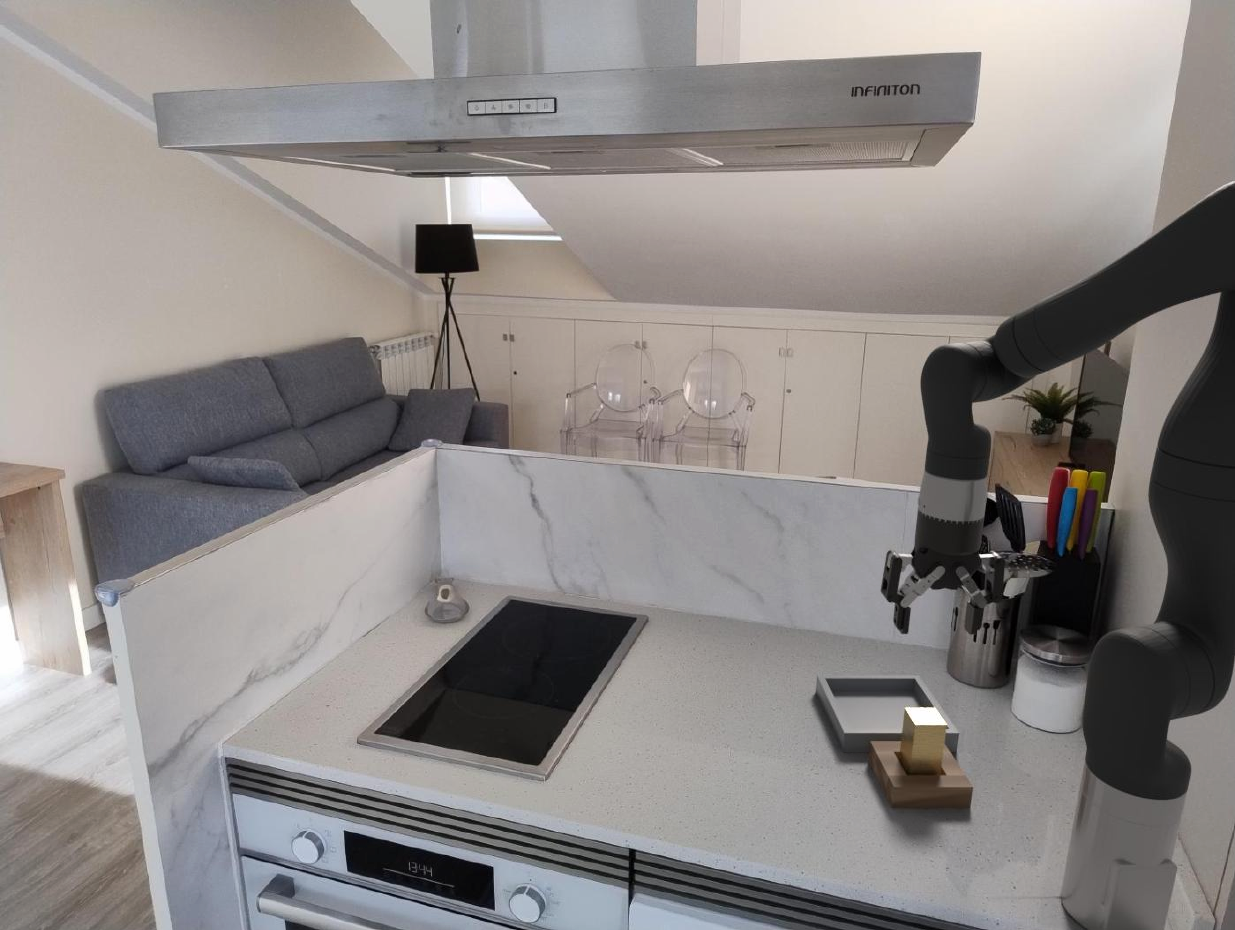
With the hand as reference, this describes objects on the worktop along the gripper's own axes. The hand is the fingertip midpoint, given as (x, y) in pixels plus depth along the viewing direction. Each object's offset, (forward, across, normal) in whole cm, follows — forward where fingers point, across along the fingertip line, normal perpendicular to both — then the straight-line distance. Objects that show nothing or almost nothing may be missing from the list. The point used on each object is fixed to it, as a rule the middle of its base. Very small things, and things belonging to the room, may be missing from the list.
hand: (936, 631), depth 110 cm
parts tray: (+22, 0, +15) cm, 27 cm away
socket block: (+22, 0, 0) cm, 22 cm away
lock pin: (+22, 0, 0) cm, 22 cm away
